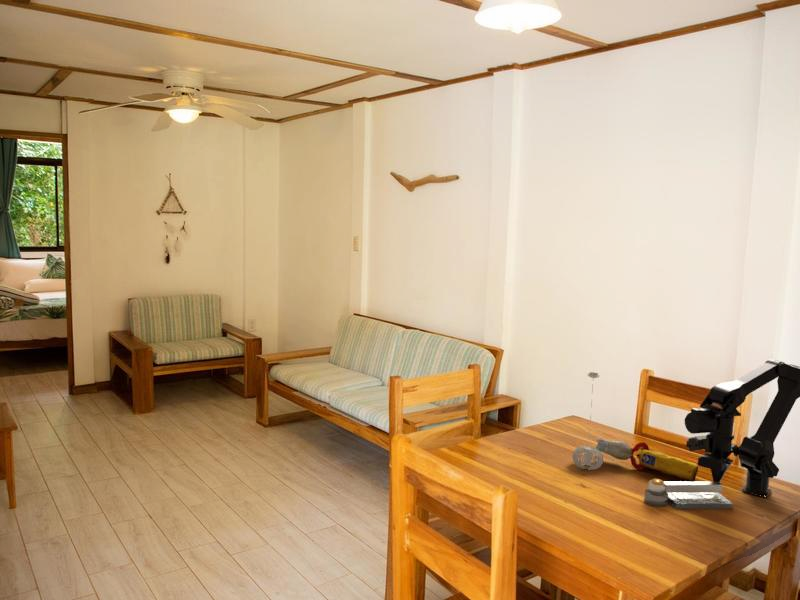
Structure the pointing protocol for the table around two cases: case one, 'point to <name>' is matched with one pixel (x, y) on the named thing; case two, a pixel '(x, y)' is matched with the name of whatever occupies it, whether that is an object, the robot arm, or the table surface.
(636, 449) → the toy
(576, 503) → the table surface
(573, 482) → the table surface
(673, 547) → the table surface
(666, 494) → the pivot base
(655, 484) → the swing arm
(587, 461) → the pendant light
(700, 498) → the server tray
